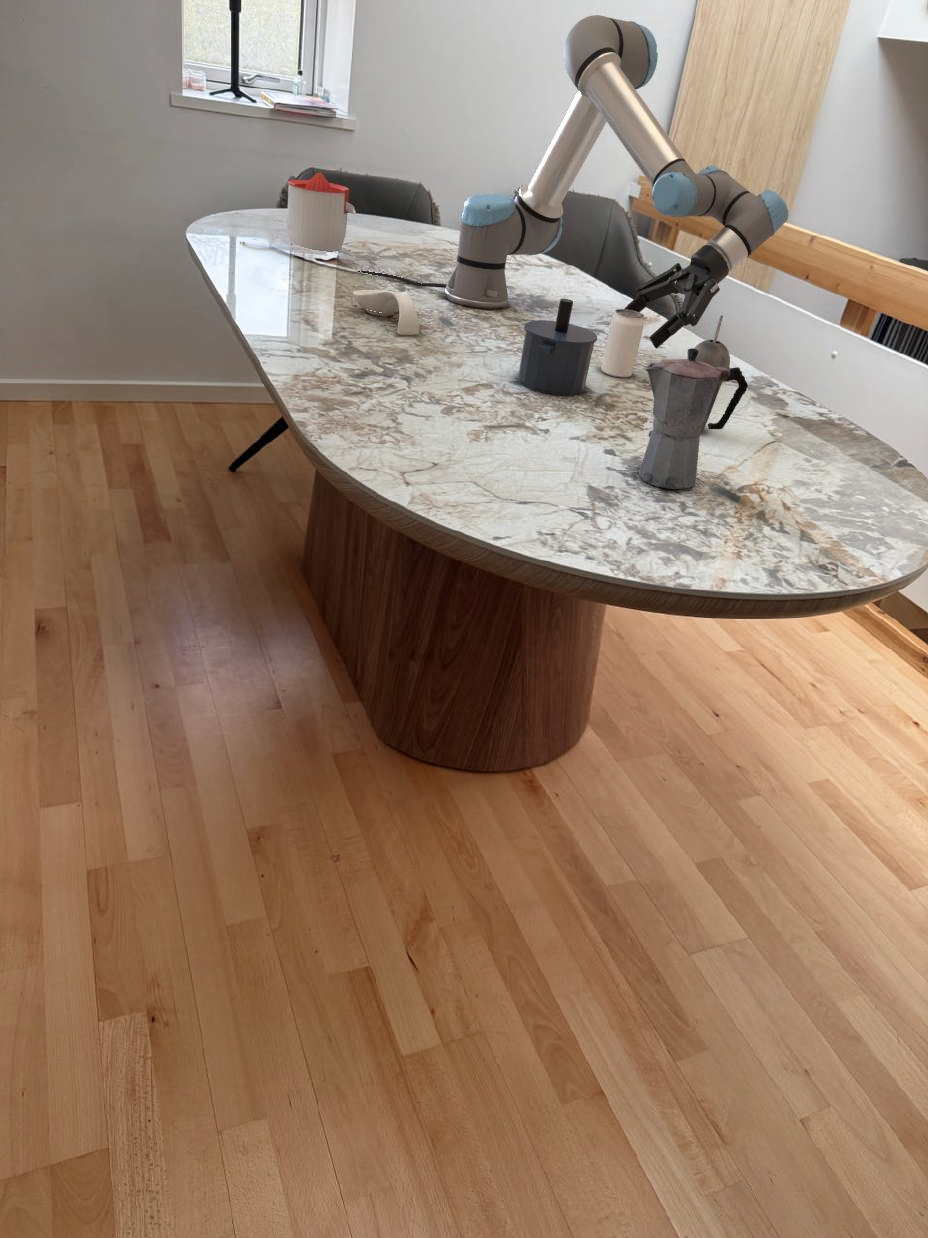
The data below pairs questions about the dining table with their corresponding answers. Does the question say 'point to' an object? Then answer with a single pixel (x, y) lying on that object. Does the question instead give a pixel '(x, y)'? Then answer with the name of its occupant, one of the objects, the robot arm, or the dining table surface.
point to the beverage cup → (713, 359)
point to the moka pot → (682, 417)
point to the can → (622, 343)
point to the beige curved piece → (390, 307)
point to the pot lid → (561, 328)
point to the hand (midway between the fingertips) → (634, 332)
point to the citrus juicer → (318, 213)
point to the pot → (554, 366)
